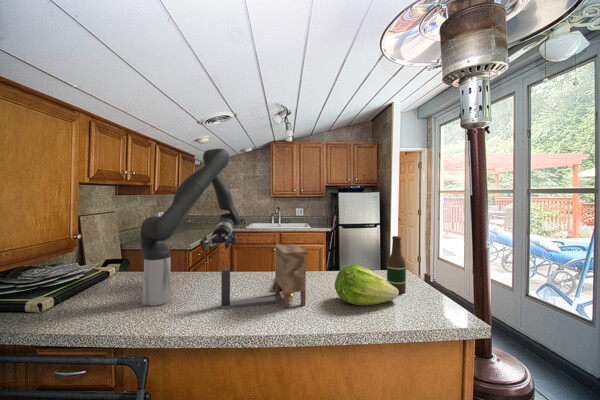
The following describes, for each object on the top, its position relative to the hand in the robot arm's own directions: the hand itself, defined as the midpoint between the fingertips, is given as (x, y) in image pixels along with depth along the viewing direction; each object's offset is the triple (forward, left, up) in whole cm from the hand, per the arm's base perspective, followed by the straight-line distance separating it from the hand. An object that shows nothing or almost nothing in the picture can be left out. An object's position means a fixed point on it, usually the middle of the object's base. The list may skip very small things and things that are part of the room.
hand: (215, 247), depth 108 cm
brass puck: (+28, -8, -21) cm, 36 cm away
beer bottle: (+76, -13, -21) cm, 79 cm away
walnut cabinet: (+29, -8, -21) cm, 36 cm away
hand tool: (+30, +13, -21) cm, 39 cm away
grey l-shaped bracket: (+13, -8, -21) cm, 26 cm away
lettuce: (+57, -20, -21) cm, 64 cm away
